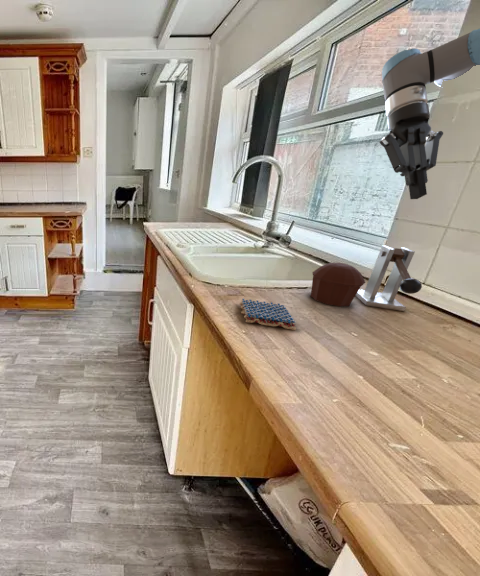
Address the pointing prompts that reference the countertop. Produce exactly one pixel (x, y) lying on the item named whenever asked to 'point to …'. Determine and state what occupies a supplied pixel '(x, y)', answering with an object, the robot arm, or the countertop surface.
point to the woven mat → (267, 314)
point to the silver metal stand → (393, 283)
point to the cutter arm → (405, 274)
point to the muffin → (336, 284)
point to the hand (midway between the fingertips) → (418, 196)
